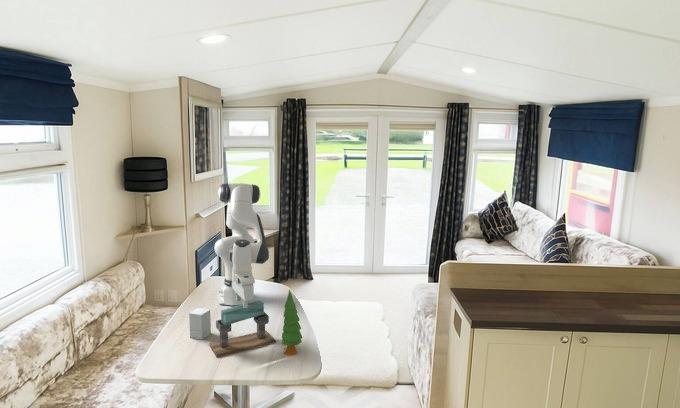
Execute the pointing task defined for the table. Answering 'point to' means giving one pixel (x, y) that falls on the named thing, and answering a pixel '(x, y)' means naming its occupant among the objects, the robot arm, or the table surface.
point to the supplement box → (200, 323)
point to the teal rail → (242, 312)
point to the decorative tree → (291, 327)
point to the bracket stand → (241, 338)
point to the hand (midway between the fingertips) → (241, 304)
